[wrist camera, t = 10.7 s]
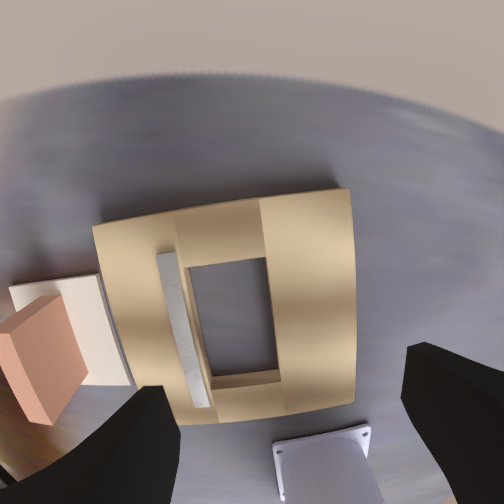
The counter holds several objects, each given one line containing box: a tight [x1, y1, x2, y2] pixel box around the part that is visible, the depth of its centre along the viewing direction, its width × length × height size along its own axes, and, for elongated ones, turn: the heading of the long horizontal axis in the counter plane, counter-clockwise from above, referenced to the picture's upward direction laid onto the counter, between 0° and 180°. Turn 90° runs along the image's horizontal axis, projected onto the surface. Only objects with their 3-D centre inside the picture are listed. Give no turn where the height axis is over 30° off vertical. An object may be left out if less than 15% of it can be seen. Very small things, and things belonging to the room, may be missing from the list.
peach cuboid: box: [0, 294, 89, 426], centre depth 15 cm, size 6×2×6 cm, turn 7°
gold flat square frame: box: [92, 188, 357, 425], centre depth 18 cm, size 14×14×2 cm
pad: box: [9, 273, 132, 385], centre depth 18 cm, size 8×8×1 cm
